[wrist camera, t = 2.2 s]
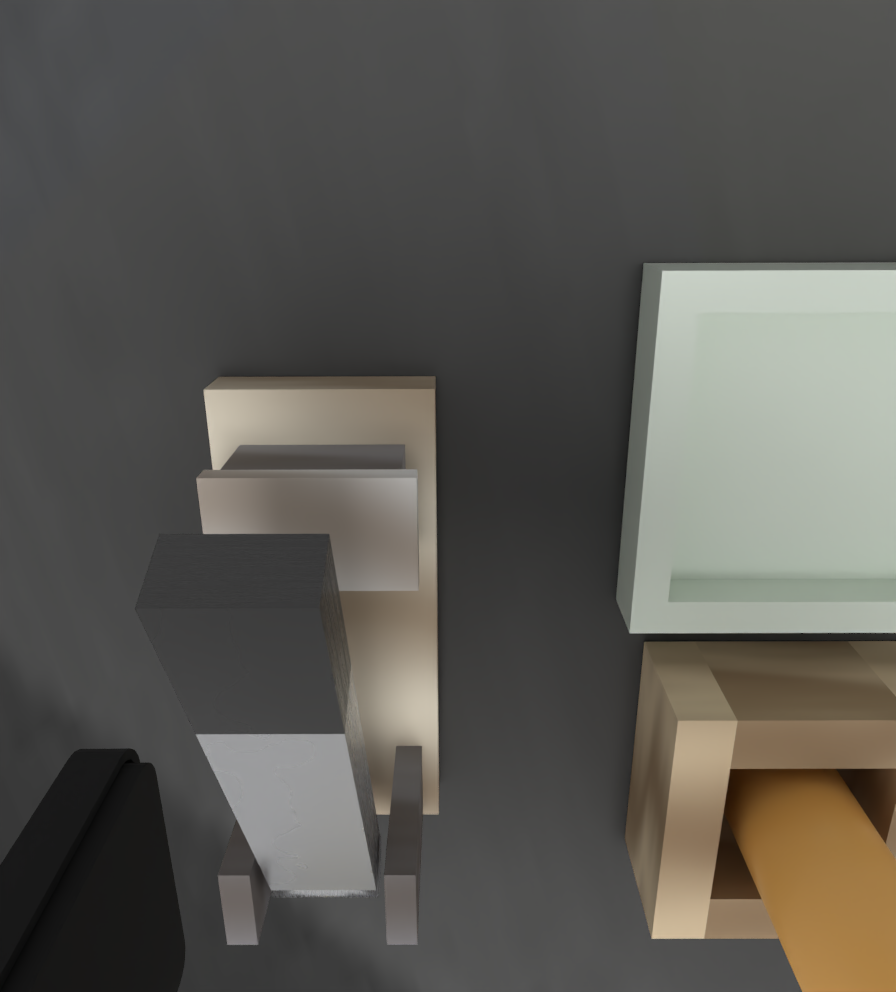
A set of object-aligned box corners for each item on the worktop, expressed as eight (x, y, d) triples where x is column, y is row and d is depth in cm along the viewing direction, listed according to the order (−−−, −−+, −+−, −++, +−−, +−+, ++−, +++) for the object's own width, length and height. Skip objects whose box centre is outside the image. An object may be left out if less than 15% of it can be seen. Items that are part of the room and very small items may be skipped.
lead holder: (852, 838, 28) (914, 938, 24) (624, 838, 28) (651, 938, 24) (898, 641, 25) (976, 720, 22) (644, 641, 25) (678, 720, 22)
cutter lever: (382, 845, 23) (378, 905, 22) (285, 845, 23) (277, 905, 22) (329, 531, 13) (319, 610, 12) (160, 531, 13) (134, 611, 12)
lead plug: (799, 788, 27) (1041, 1205, 16) (693, 788, 27) (863, 1205, 16) (816, 699, 26) (1093, 1086, 15) (705, 699, 26) (898, 1086, 15)
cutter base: (439, 782, 27) (436, 952, 21) (263, 782, 27) (209, 953, 21) (435, 376, 22) (430, 448, 16) (218, 376, 22) (132, 449, 16)
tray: (940, 598, 25) (980, 632, 23) (616, 599, 25) (629, 633, 23) (1024, 261, 21) (1079, 269, 19) (643, 262, 21) (662, 270, 19)
